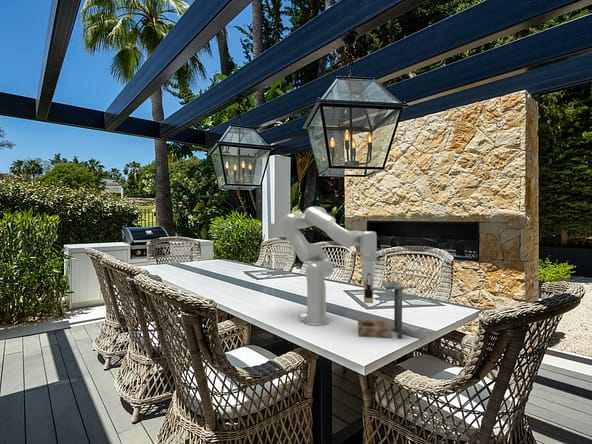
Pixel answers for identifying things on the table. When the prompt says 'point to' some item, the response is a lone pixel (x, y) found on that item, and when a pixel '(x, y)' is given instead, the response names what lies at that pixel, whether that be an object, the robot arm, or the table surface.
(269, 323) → the table surface
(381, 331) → the socket block
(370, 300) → the peg
